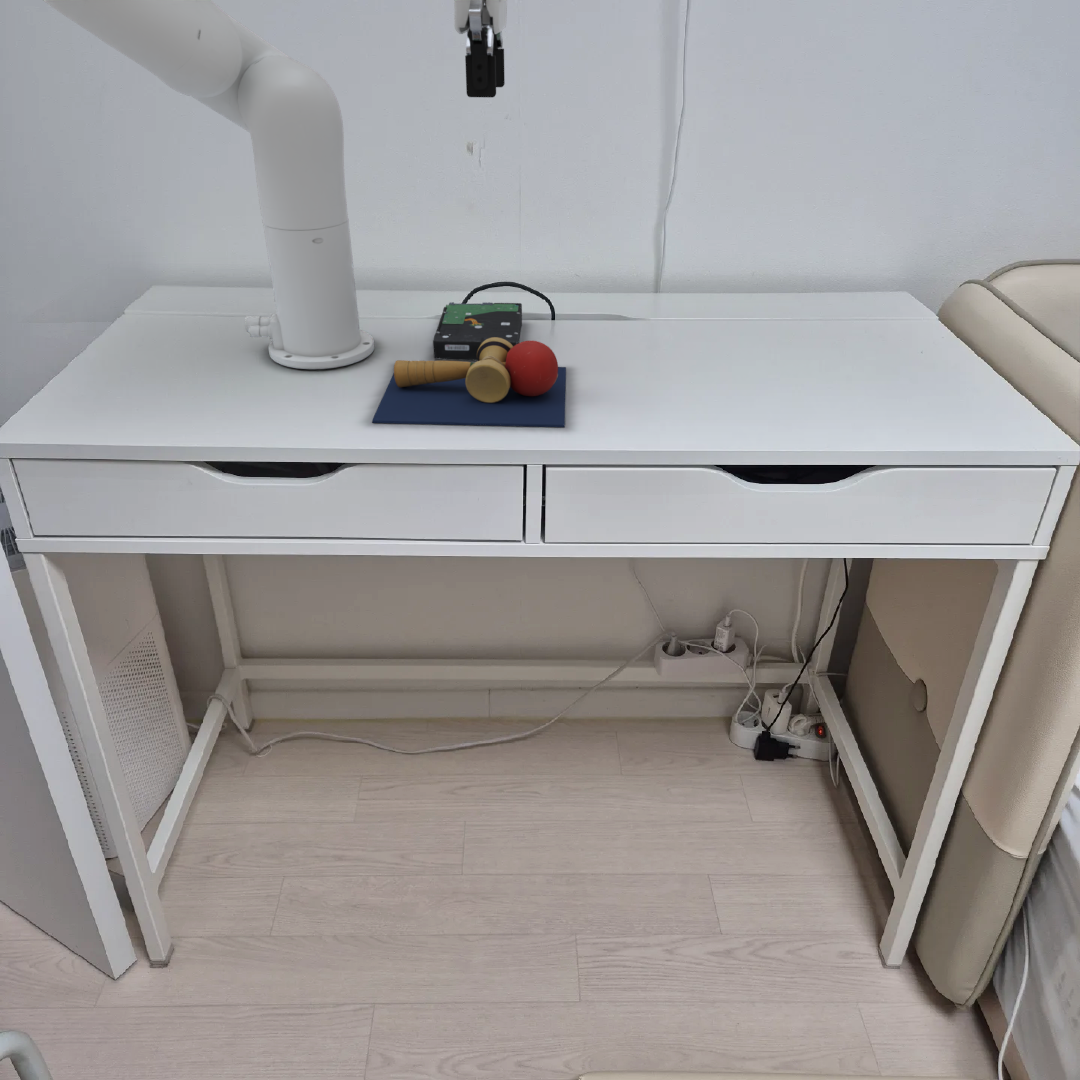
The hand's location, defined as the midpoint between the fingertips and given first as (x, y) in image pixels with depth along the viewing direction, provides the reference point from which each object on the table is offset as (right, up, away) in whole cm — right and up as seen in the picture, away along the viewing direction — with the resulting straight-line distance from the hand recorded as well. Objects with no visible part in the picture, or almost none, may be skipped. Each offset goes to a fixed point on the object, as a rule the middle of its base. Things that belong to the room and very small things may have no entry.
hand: (486, 91), depth 102 cm
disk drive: (-1, -26, +12) cm, 29 cm away
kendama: (-1, -35, -3) cm, 35 cm away
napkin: (-1, -35, -3) cm, 35 cm away
